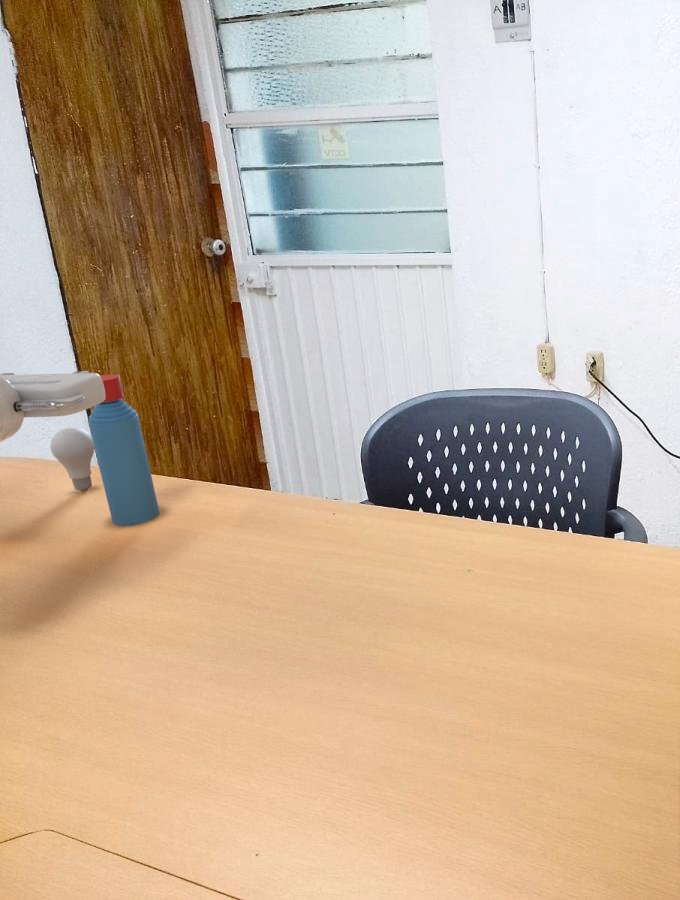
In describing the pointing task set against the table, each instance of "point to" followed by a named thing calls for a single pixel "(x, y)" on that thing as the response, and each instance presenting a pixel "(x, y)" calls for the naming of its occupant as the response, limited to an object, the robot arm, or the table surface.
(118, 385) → the cap
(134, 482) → the bottle
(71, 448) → the lightbulb
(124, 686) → the table surface
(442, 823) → the table surface
